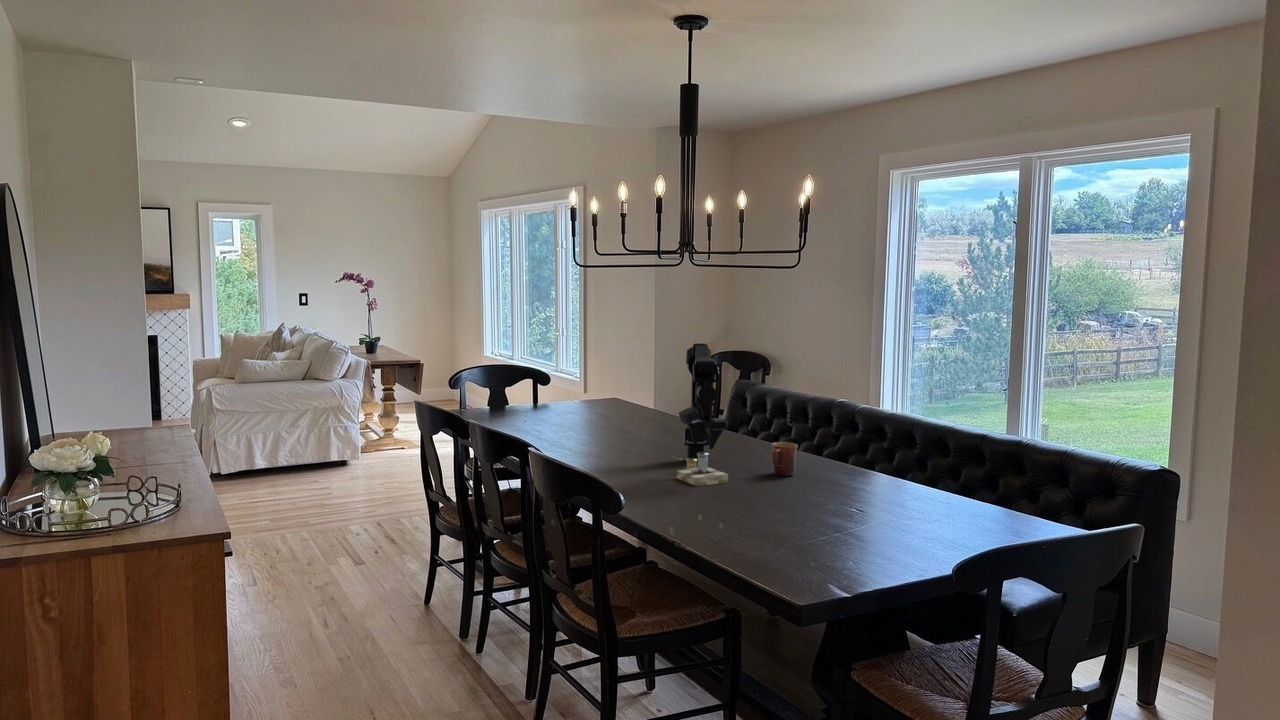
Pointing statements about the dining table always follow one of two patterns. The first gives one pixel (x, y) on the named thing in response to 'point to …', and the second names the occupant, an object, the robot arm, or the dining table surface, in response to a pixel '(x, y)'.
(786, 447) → the mug
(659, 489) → the dining table surface
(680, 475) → the socket board
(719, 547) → the dining table surface
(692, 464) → the short pin
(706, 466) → the long pin
